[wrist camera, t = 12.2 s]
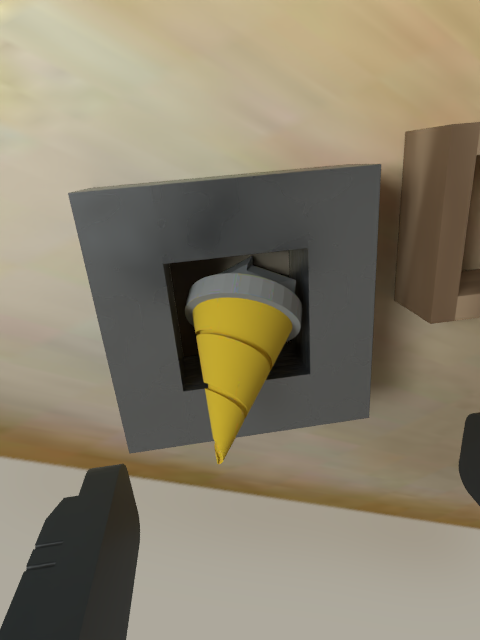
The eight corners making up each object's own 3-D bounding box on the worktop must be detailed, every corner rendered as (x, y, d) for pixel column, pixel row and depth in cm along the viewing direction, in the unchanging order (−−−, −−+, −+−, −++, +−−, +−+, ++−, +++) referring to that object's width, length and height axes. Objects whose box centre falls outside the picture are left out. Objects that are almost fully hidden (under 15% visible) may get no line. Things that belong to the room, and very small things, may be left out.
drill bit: (314, 281, 21) (298, 480, 17) (221, 285, 23) (186, 465, 19) (295, 213, 17) (269, 461, 12) (182, 225, 18) (124, 444, 14)
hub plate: (347, 164, 19) (381, 164, 15) (343, 382, 23) (368, 417, 20) (89, 188, 18) (67, 193, 14) (137, 411, 22) (129, 453, 19)
